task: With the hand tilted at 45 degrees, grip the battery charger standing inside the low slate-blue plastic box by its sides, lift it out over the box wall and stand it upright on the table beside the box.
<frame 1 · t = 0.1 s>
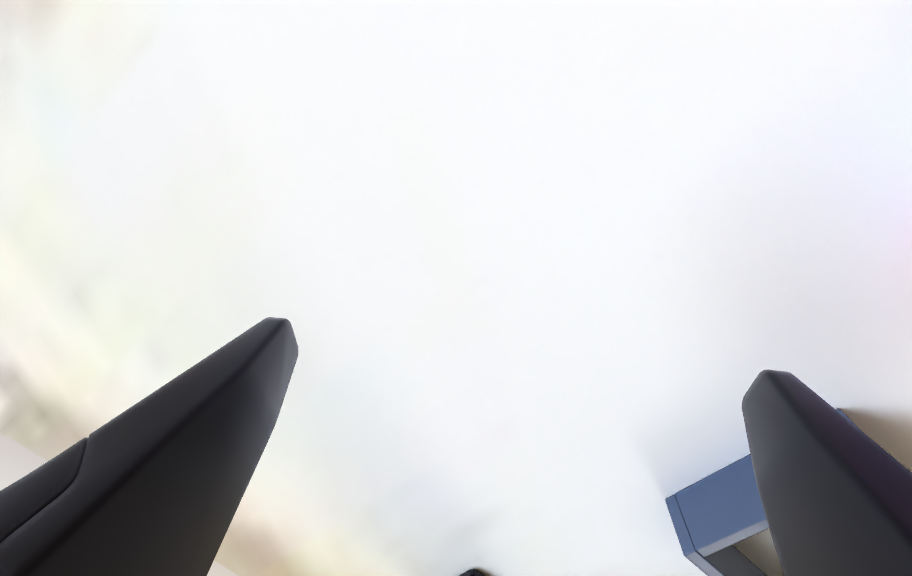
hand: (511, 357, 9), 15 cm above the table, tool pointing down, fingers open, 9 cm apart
box: (811, 521, 29), on the table
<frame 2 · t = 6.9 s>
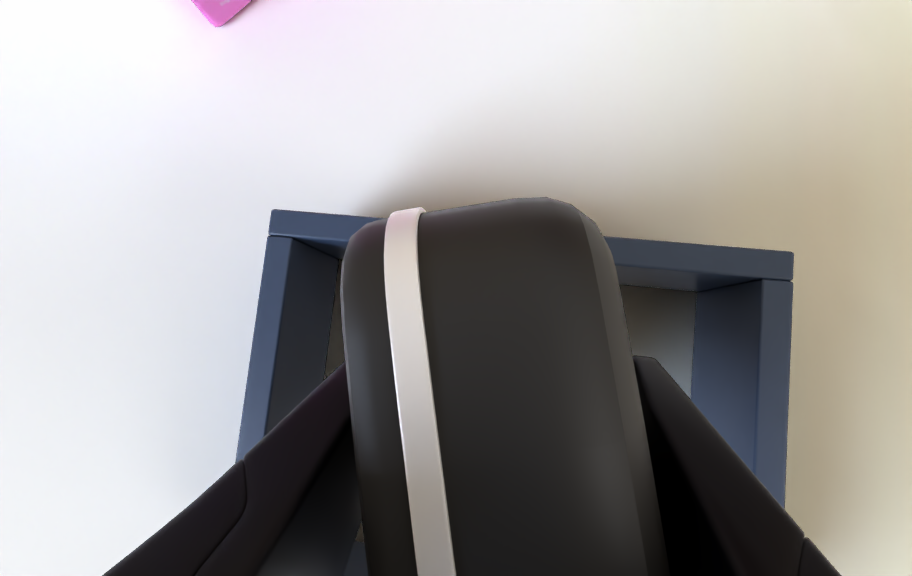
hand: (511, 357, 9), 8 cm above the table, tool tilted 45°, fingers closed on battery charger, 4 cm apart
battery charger: (501, 370, 16), resting in box, touching gripper
box: (498, 413, 16), on the table
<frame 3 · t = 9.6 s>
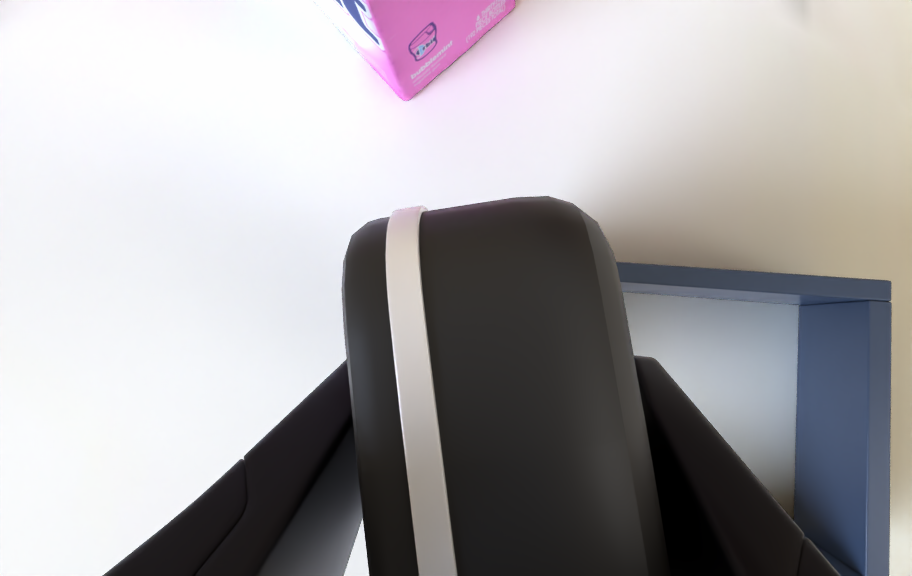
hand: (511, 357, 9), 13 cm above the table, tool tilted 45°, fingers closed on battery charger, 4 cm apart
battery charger: (502, 369, 16), point 5 cm above the table, touching gripper
box: (647, 400, 21), on the table
when the fingers open (8 cm above the table, at t = 12.4 s): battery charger stays where it is, on the table.
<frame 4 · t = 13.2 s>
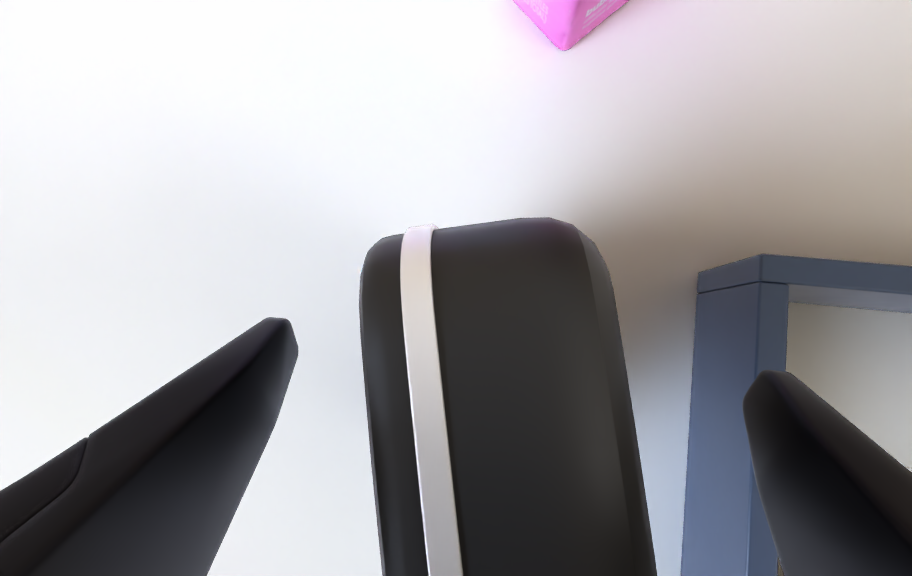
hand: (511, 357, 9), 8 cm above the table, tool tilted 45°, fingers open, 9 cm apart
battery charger: (502, 373, 17), on the table
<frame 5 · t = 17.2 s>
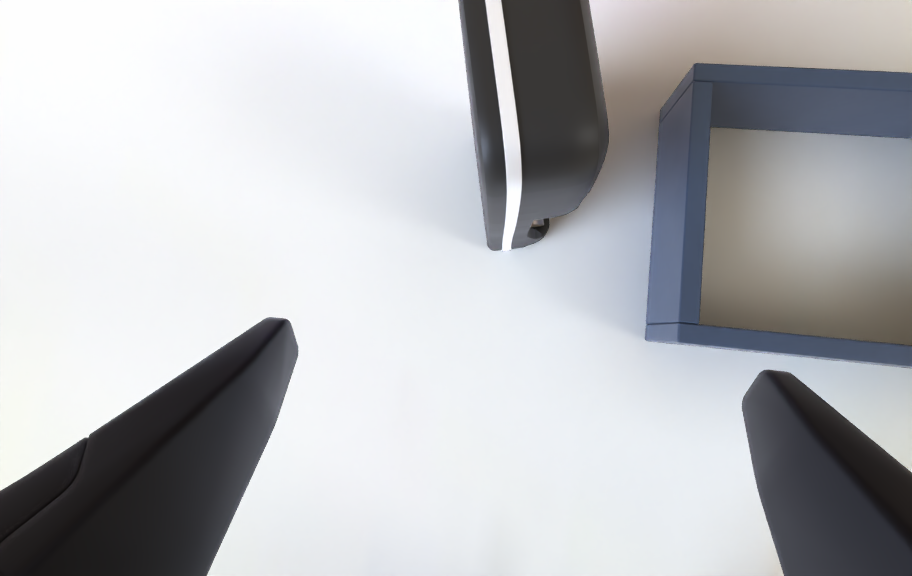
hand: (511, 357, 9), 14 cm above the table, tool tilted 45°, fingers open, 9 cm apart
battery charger: (517, 186, 23), on the table
box: (811, 234, 21), on the table
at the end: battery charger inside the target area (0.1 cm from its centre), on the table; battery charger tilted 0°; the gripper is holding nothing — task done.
